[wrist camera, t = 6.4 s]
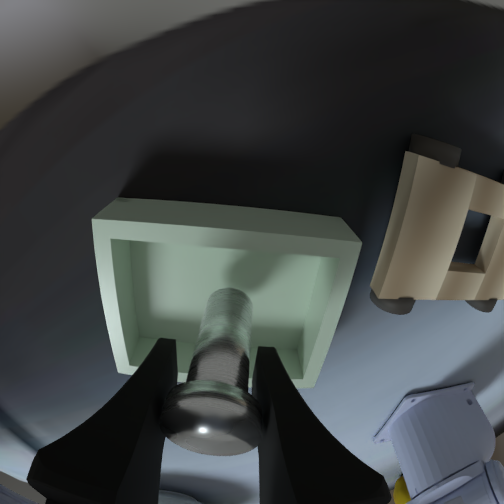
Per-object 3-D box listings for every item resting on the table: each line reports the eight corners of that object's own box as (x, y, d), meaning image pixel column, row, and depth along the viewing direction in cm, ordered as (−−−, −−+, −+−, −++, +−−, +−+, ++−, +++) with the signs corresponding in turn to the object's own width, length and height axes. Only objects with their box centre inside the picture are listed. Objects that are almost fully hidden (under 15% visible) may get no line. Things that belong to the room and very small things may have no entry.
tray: (340, 217, 15) (362, 242, 12) (305, 352, 19) (313, 388, 16) (117, 197, 14) (91, 218, 11) (131, 338, 18) (118, 372, 15)
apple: (382, 479, 33) (394, 520, 26) (420, 460, 31) (435, 502, 24) (393, 483, 35) (404, 520, 28) (427, 466, 34) (440, 503, 27)
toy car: (528, 180, 14) (554, 191, 11) (490, 291, 18) (509, 311, 15) (396, 127, 13) (424, 133, 10) (357, 286, 16) (373, 314, 14)
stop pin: (268, 283, 14) (270, 414, 7) (257, 336, 15) (253, 460, 9) (198, 273, 14) (154, 396, 7) (195, 327, 15) (162, 446, 9)
